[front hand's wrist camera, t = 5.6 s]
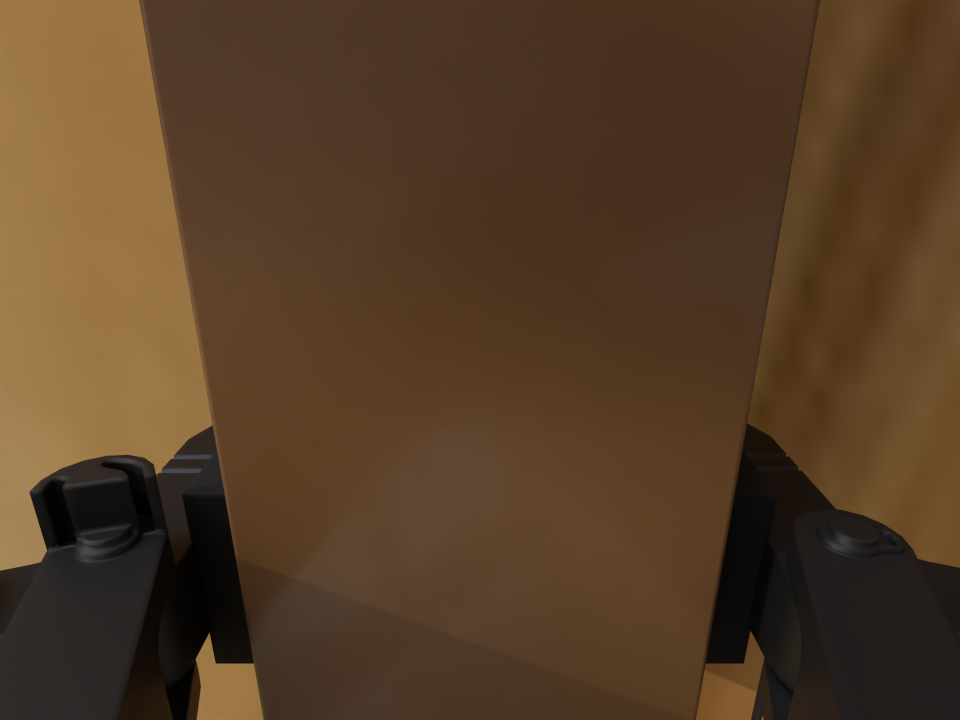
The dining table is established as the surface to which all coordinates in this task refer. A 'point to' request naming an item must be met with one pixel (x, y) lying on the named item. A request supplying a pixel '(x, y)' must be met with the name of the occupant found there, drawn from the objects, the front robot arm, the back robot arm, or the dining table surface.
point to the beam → (479, 333)
